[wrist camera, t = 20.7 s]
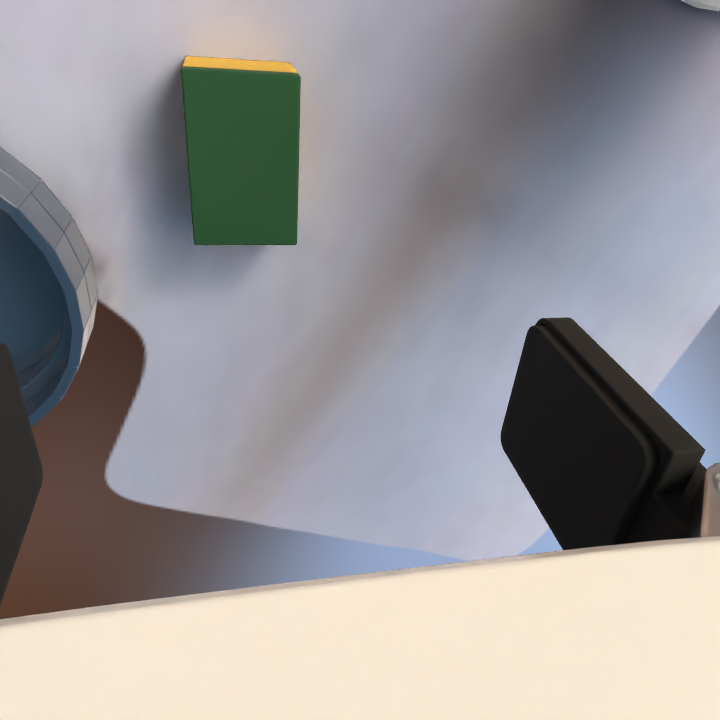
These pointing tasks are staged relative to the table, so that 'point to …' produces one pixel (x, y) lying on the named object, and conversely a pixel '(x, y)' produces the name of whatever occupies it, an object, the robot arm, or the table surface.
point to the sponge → (242, 150)
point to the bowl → (42, 288)
